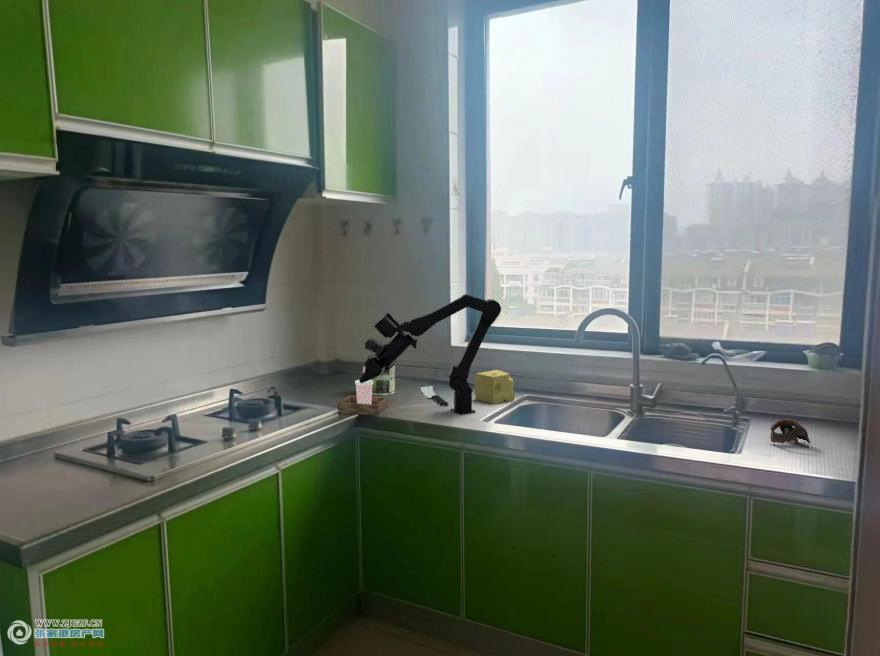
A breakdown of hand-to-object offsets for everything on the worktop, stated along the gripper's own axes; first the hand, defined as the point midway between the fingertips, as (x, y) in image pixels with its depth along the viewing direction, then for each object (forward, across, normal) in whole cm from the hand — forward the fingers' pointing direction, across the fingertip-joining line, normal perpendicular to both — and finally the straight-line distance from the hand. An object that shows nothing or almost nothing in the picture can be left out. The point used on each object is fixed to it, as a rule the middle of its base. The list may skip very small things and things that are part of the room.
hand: (364, 379), depth 214 cm
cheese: (-21, -24, +36) cm, 49 cm away
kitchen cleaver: (-4, -24, +20) cm, 31 cm away
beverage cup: (+7, 0, +7) cm, 10 cm away
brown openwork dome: (-81, +13, +98) cm, 128 cm away
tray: (+8, 0, +7) cm, 10 cm away
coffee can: (+9, -27, +6) cm, 29 cm away
